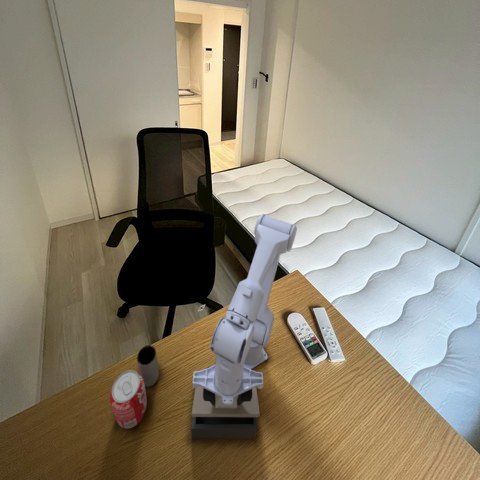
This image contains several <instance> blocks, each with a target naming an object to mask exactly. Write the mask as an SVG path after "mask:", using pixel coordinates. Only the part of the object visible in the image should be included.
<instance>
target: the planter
mask: <svg viewBox="0 0 480 480" xmlns="http://www.w3.org/2000/svg"><path fill="white" fill-rule="evenodd" d="M136 362H137V363H136V364H137V368H138V373H139V374H140V375H141V376H142V378H143V381H144V385H145V388H149V387H152V386H154V385H155V384H156V382H157V381H158V379H159V376H160V372H159V370H160V369H159V363H158V355H157V349H156V347H155V346H153V345H152V344H147V345H144V346H142V348H140V349H139V350H138V352H137V354H136Z"/></svg>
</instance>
